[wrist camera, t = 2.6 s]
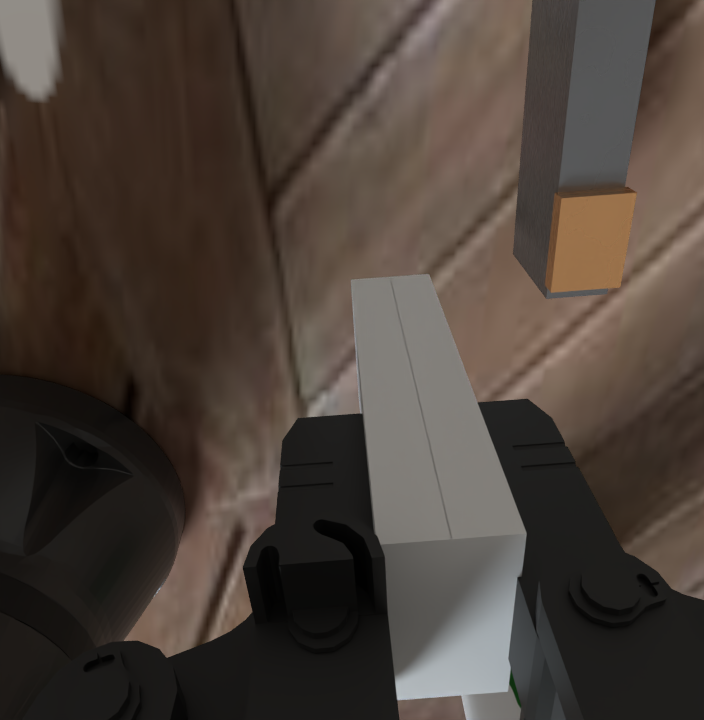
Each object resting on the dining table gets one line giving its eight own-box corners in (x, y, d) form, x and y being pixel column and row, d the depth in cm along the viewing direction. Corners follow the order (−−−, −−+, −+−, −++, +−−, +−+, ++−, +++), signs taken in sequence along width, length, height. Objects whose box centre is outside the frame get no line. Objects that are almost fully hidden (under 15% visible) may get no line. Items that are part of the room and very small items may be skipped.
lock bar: (537, -385, 15) (616, -519, 11) (667, -394, 15) (791, -530, 11) (497, 255, 24) (533, 307, 20) (580, 248, 24) (633, 300, 20)
